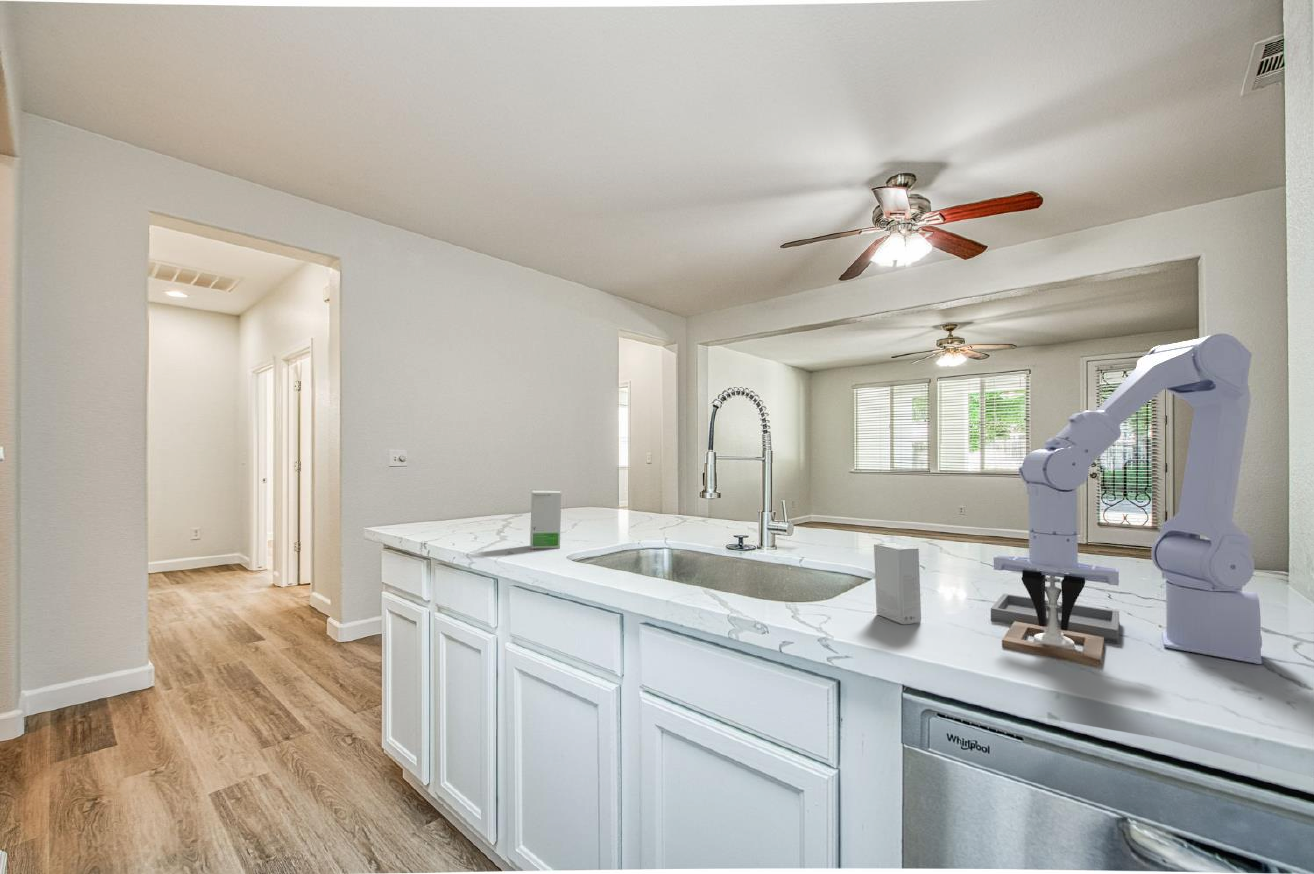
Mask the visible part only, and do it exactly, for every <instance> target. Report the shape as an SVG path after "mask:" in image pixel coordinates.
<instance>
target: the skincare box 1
mask: <svg viewBox="0 0 1314 874" xmlns="http://www.w3.org/2000/svg"><path fill="white" fill-rule="evenodd" d="M530 500H531V501H530V507H531V508H530V529H529V530H530V532H529V533H530V535H529V536H530V537H529V538H530V539H529V541H530V542H529V544H530V545H529V546H530V549H531V550H533V549H535V550H536V549H560V548H561V524H562V523H561V516H562V513H561V512H562V492H561V491H559V490H558V491H557V490H531V499H530Z"/></svg>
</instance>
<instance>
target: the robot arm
mask: <svg viewBox="0 0 1314 874" xmlns="http://www.w3.org/2000/svg"><path fill="white" fill-rule="evenodd" d="M1251 363H1252V352H1251V351H1250V350H1249V349H1248V348H1247V346H1245V345H1244V344H1243V343H1242V342H1241V341H1240V340H1239V339H1238V338H1236V337H1235V336H1234V335H1231V334H1228V333H1214V334H1211V335H1207V336H1205V337H1200V338H1195V339H1190V340H1185V341H1180V342H1175V343H1169V344H1160V345H1157V346H1154V347H1153V348H1151V349H1150V350H1149V351H1147V354H1146V355H1144V356H1142V357H1141V358H1139V359H1138V360H1136V368H1134V369H1133V371H1132V372H1131V373H1130V374H1129V375H1128V376H1127V377H1126V378H1125V379H1124V381H1122V382H1121V383H1120V384H1119V386H1117V388H1115V390H1114V391H1113V392H1112V393H1111V394H1110V395H1109V396H1108V397H1107V398H1106V400H1105V401H1104V402H1102V403H1101V404H1100V406H1099V407H1098V408H1097V409H1096V410H1084V411H1081V412H1080V413H1073V414H1072V415H1071V416H1069V417H1068V419H1067V421H1068V422H1069V423H1068V424H1067V425H1065V427H1064V428H1063V429H1061V430H1060V431H1059V432H1058V433H1057V434H1055V436H1054V437H1052V438H1051V437H1050V438H1048V439H1047V440H1046V441H1045V442H1044V444H1045V446H1044V448H1043V449H1037V450H1033V451H1031V452H1029V453H1028V454H1027V455H1026V456H1025V458H1024V459H1023V460H1022V461H1023V462H1022V464H1021V466H1019V467H1018V474H1019V477H1020V479H1021V480H1022V482H1024V484H1025V486H1026V495H1028V551H1029V552H1028V557H1024V556H1010V555H1009V556H1008V555H1000V554H999V555H997V554H996V555H995V556H993V570H995V571H1009V572H1016V573H1017V572H1018V573H1022V574H1021V575H1022V576H1021V582H1022V584H1023V585H1024V588H1025V589H1026V591H1027V593H1028V595H1029V597H1030V598H1031V599H1032V602H1033V604H1034V607H1035V610H1036V613H1037V617H1038V622H1039V626H1042V627H1045V625H1046V606H1045V605H1044V604H1045V600H1046V592H1045V589H1044V587H1046V581H1045V578H1046V577H1047V576H1049V577H1050V576H1055V578H1063V579H1062V580H1061V581H1060V589H1061V602H1062V616H1061V630H1065V631H1067V630H1068V627H1069V619H1070V615H1071V611H1072V608H1073V606H1074V604H1076V601H1077V599H1078V597H1079V596H1080V594H1081V592H1082V590H1083V589H1084V587H1085V585H1086V582H1096V583H1102V584H1108V585H1109V586H1110V585H1111V586H1120V585H1119V584H1120V581H1119V580H1120V579H1119V577H1120V575H1119V574H1120V573H1119V570H1120V569H1118V568H1114V567H1113V568H1112V567H1105V566H1097V565H1094V564H1093V565H1092V564H1087V563H1082V562H1081V563H1080V562H1078V561H1079V560H1078V559H1079V558H1078V557H1079V555H1078V554H1079V553H1078V549H1079V548H1078V543H1079V542H1078V488H1079V487H1080V486H1081V485H1084V484H1085V483H1086V482H1087V479H1088V477H1089V472H1090V467H1091V466H1092V465H1093V463H1094V462H1095V461H1096V460H1097V459H1098V458H1099V457H1100V456H1101V455H1103V454H1104V453H1105V452H1106V451H1107V450H1108V449H1109V448H1110V447H1111V446H1113V444H1115V442H1117V440H1119V439H1120V438H1121V435H1122V431H1121V427H1120V426H1121V424H1123V423H1124V422H1125V421H1126V420H1127V419H1129V418H1130V417H1132V416H1133V415H1134V414H1136V413H1137V412H1138V411H1139V410H1141V408H1142V407H1144V406H1145V405H1146V404H1148V403H1149V402H1150V401H1151V400H1153V399H1154V397H1156V396H1157V395H1158V394H1160V393H1161V392H1162V391H1163V390H1165V391H1167V392H1168V393H1171V394H1173V395H1175V396H1176V397H1178V398H1180V399H1182V401H1183V400H1184V401H1186V403H1188V404H1189V405H1190V406H1191V407H1192V408H1193V410H1194V411H1193V417H1192V424H1191V428H1190V429H1191V430H1190V437H1189V444H1188V447H1187V448H1188V450H1187V456H1186V462H1185V469H1184V475H1183V481H1182V488H1181V495H1180V501H1179V507H1178V513H1176V514H1175V515H1174V516H1172V517H1171V518H1169V519H1167V520H1166V521H1165V522H1163V523H1161V528H1160V533H1159V535H1158V537H1157V539H1155V541H1154V542H1153V544H1152V547H1151V550H1150V551H1151V552H1150V556H1151V561H1152V563H1153V564H1154V566H1155V567H1156V569H1158V570H1159V571H1160V572H1161V579H1164V580H1165V603H1166V604H1165V612H1166V613H1165V618H1166V619H1165V624H1166V626H1165V627H1166V628H1165V629H1166V630H1161V637H1162V642H1163V647H1165V648H1167V649H1173V650H1179V651H1184V652H1191V653H1196V654H1200V655H1206V656H1207V655H1208V656H1213V657H1218V658H1223V659H1230V660H1235V661H1241V662H1245V663H1251V664H1252V663H1253V664H1258V665H1262V664H1263V660H1262V648H1263V639H1262V634H1261V632H1262V629H1261V626H1262V625H1261V621H1262V620H1261V606H1260V600H1259V599H1260V598H1259V596H1258V593H1256V592H1255V591H1249V590H1243V587H1245V586H1246V585H1247V584H1248V583H1249V582H1250V581H1251V579H1252V578H1253V575H1254V572H1255V562H1254V559H1253V556H1252V552H1251V545H1252V544H1251V543H1252V538H1251V537H1250V536H1249V535H1248V534H1247V533H1246V532H1244V531H1243V530H1242V529H1241V528H1240V527H1239V526H1238V525H1236V524H1235V523H1234V522H1233V517H1234V510H1235V504H1236V503H1235V502H1236V497H1237V496H1236V495H1237V490H1238V483H1239V477H1240V471H1241V464H1242V457H1243V453H1244V452H1243V450H1244V445H1245V439H1246V432H1247V426H1248V418H1249V413H1250V405H1251V392H1250V388H1249V387H1250V386H1249V381H1248V380H1249V374H1250V368H1251ZM1201 536H1204V537H1206V538H1207V539H1204V538H1201ZM1199 537H1200V538H1199Z"/></svg>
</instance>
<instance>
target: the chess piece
mask: <svg viewBox="0 0 1314 874" xmlns="http://www.w3.org/2000/svg"><path fill="white" fill-rule="evenodd" d="M1045 583H1049V584H1050V585H1045V587H1044V589H1045V595H1046V596H1047V600H1049V601H1048V602H1045V604H1044V605H1045V606H1048V607H1049V615H1048V623H1047V629H1046V630H1044V632H1045V633H1039V634H1036V635H1033V639H1032V642H1037V643H1042V644H1047V645H1052V646H1057V647H1062V648H1067V649H1072V650H1076V645H1075V644H1076V643H1074V641H1073V640H1071V639H1069V638H1067V637H1065V636H1062V635H1064V634H1063V633H1061V630H1060V625H1059V619H1058V611H1057V608H1062V605H1061V604H1059V603H1058V602H1059V598H1060V595H1061V594H1062V589H1061V587H1058V586H1057V585H1056V583H1061V579H1060V578H1056V577H1055V576H1049V578H1045Z"/></svg>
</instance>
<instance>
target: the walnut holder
mask: <svg viewBox="0 0 1314 874" xmlns="http://www.w3.org/2000/svg"><path fill="white" fill-rule="evenodd" d="M1046 629H1047V627H1042V626H1038V625H1033V624H1027V623H1022V622H1016V621H1014V623H1013V624H1011V626H1010V627H1009V629H1008V630H1007V632H1005V635H1004V636H1003V638H1002V639H1001V647H1002V648H1005V649H1010V650H1015V651H1020V652H1024V653H1030V654H1034V655H1038V656H1044V657H1048V658H1054V659H1058V660H1063V661H1068V662H1073V663H1078V664H1081V665H1082V664H1083V665H1088V666H1093V667H1096V668H1102V661H1103V654H1104V646H1105V641H1104V637H1100V636H1094V635H1088V634H1083V633H1077V632H1072V631H1065V630H1061V629H1060V630H1061V633H1063V634H1064V635H1062V636H1065V637H1067V638H1069V639H1071V640H1073V641H1074V643H1075V644H1080V645H1083V647H1082V651H1081V650H1077V649H1073V650H1072V649H1067V648H1062V647H1057V646H1052V645H1047V644H1042V643H1037V642H1034V641H1033V640H1032V641H1030V640H1026V638H1027V636H1028V635H1033V636H1034V635H1036V634H1039V633H1045V632H1044V630H1046Z"/></svg>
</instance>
